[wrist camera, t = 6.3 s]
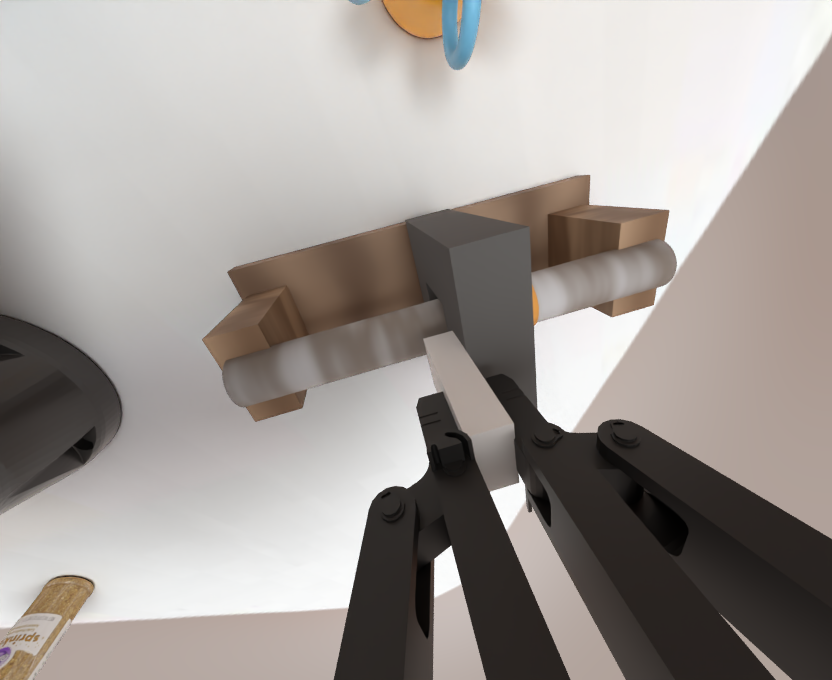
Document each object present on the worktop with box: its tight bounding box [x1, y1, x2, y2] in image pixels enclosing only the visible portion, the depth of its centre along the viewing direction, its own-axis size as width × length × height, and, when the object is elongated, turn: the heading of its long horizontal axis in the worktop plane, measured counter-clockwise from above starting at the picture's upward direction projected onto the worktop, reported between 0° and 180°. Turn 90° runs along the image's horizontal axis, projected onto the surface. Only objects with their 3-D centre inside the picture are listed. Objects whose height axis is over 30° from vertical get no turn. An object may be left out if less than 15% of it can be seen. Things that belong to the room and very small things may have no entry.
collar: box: [405, 209, 537, 409], centre depth 18 cm, size 3×11×11 cm, turn 13°
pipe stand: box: [202, 175, 677, 422], centre depth 21 cm, size 28×10×11 cm, turn 103°
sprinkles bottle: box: [0, 577, 94, 680], centre depth 29 cm, size 5×4×13 cm
